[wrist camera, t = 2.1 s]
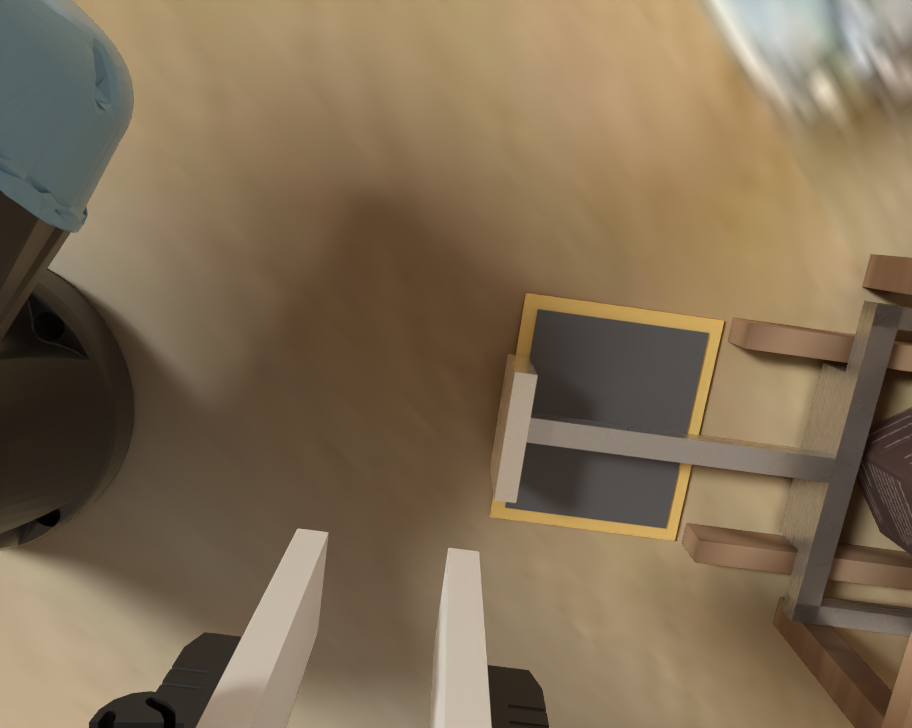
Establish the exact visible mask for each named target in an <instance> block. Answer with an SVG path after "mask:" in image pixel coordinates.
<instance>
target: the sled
mask: <svg viewBox="0 0 912 728" xmlns="http://www.w3.org/2000/svg"><path fill="white" fill-rule="evenodd" d="M898 329H900V330H907V331H912V308H910V307H903V306H896V305H889V304H882V303H875V302H868V301H864V305H863V309H862V312H861V316H860V320H859V323H858V327H857V331H856V335H855V338H854V342H853V346H852V350H851V353H850V357H849V361H848V365H847V367H846V366H839V365H832V364H825V363H823V365H822V369H821V373H820V377H819V380H818V384H817V388H816V392H815V396H814V400H813V404H812V407H811V411H810V415H809V419H808V423H807V427H806V431H805V434H804V438H803V442H802V446H801V448H793V447H786V446H778V445H771V444H763V443H756V442H748V441H741V440H734V439H726V438H719V437H711V436H704V435H696V434H689V433H682V432H674V431H667V430H659V429H652V428H644V427H637V426H629V425H622V424H615V423H607V422H600V421H592V420H585V419H577V418H570V417H563V416H555V415H548V414H540V413H533V412H532V406H533V400H534V394H535V388H536V383H537V377H538V375H537V373H536V371H535V369H534V367H533V365H532V363H531V361H530V359H529V358H528V357H527V356H519V355H512V354H508V357H507V363H506V369H505V376H504V382H503V388H502V395H501V401H500V407H499V414H498V420H497V426H496V432H495V439H494V445H493V451H492V458H491V464H490V473H491V481H492V488H493V495H494V500H496V501H503V502H511V503H516V501H517V495H518V489H519V483H520V477H521V471H522V465H523V459H524V453H525V448H526V442H528V443H535V444H543V445H550V446H558V447H565V448H573V449H580V450H588V451H595V452H603V453H610V454H618V455H626V456H633V457H641V458H648V459H656V460H663V461H671V462H678V463H686V464H693V465H701V466H708V467H716V468H723V469H731V470H738V471H746V472H753V473H761V474H768V475H776V476H783V477H791V478H793V481H792V485H791V488H790V492H789V496H788V500H787V504H786V508H785V512H784V515H783V519H782V523H781V527H780V532H781V533H782V534H783V535H784V536H785V537H786V538H787V539H788V540H789V541H790V542H791V543H792V544H793V545H794V546H795V547H796V548H797V549H798V552H797V555H796V559H795V563H794V567H793V570H792V574H791V578H790V582H789V585H788V589H787V593H786V596H785V600H784V604H783V608H782V611H783V612H784V613H785V614H786V615H787V616H788V618H789V619H790V620H791V621H794V622H802V623H809V624H817V625H825V626H833V627H841V628H849V629H857V630H865V631H873V632H881V633H888V634H896V635H904V636H910V635H911V632H912V608H906V607H898V606H890V605H882V604H874V603H867V602H859V601H851V600H843V599H835V598H827V597H823V594H824V590H825V587H826V583H827V579H828V576H829V572H830V569H831V565H832V562H833V558H834V554H835V551H836V547H837V544H838V540H839V537H840V533H841V529H842V526H843V522H844V519H845V515H846V512H847V508H848V505H849V501H850V497H851V494H852V490H853V487H854V483H855V480H856V476H857V472H858V469H859V465H860V462H861V458H862V455H863V451H864V447H865V444H866V440H867V437H868V433H869V430H870V426H871V422H872V419H873V415H874V412H875V408H876V405H877V401H878V397H879V394H880V390H881V387H882V383H883V380H884V376H885V372H886V369H887V365H888V362H889V358H890V355H891V351H892V347H893V344H894V340H895V337H896V333H897V330H898Z"/></svg>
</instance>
